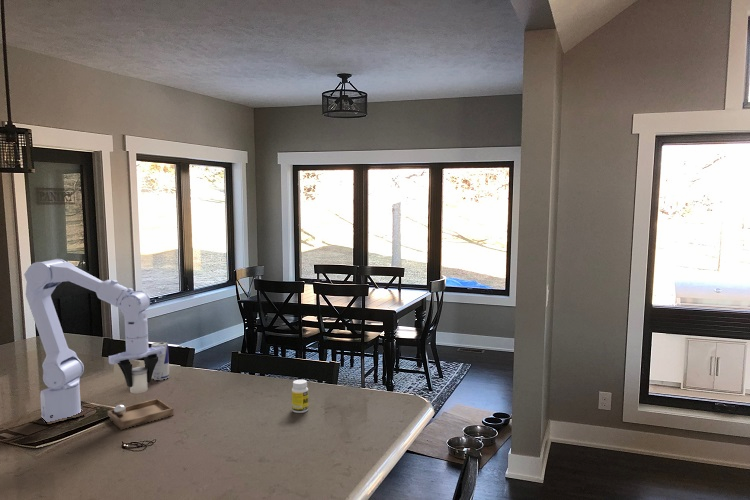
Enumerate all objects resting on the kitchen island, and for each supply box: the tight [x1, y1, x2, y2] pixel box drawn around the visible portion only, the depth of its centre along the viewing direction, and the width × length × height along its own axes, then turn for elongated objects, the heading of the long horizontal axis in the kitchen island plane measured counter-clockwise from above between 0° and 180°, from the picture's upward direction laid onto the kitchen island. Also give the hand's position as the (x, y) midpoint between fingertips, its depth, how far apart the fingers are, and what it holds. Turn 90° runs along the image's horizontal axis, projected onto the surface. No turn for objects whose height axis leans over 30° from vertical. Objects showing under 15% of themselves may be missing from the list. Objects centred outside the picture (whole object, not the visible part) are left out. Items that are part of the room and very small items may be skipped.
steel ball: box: [113, 404, 126, 416], centre depth 150 cm, size 3×3×3 cm
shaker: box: [129, 366, 148, 394], centre depth 150 cm, size 5×5×6 cm
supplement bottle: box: [291, 379, 310, 414], centre depth 154 cm, size 5×5×8 cm
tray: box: [107, 398, 175, 431], centre depth 151 cm, size 14×11×2 cm
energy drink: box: [150, 341, 170, 381], centre depth 183 cm, size 5×5×12 cm
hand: (139, 384), depth 150 cm, fingers closed on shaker, 4 cm apart
